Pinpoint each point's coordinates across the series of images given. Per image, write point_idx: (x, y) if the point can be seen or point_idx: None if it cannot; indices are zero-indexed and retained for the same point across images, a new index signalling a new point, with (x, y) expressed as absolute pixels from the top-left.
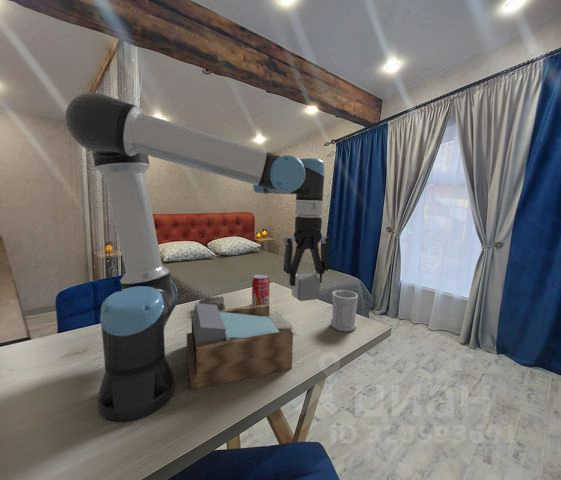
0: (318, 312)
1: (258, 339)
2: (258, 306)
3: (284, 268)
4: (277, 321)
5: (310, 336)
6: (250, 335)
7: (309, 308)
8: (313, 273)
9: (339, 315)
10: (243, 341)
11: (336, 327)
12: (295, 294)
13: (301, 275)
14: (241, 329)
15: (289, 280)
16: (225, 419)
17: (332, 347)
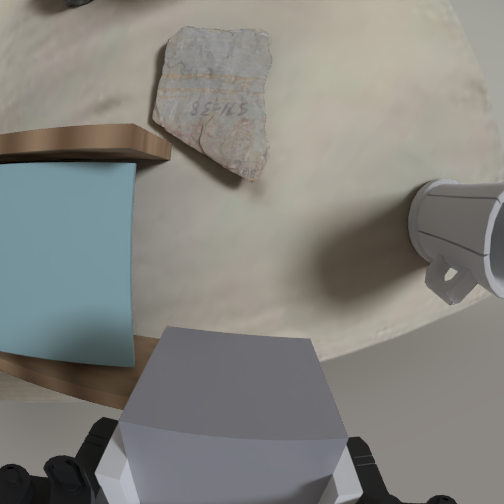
0: (429, 90)
1: (40, 384)
2: (82, 139)
3: (1, 490)
4: (228, 103)
5: (304, 231)
6: (27, 340)
7: (415, 48)
8: (334, 488)
9: (440, 249)
10: (10, 373)
11: (411, 234)
12: None
13: (204, 468)
14: (5, 303)
15: (86, 437)
16: (37, 391)
17: (324, 317)
